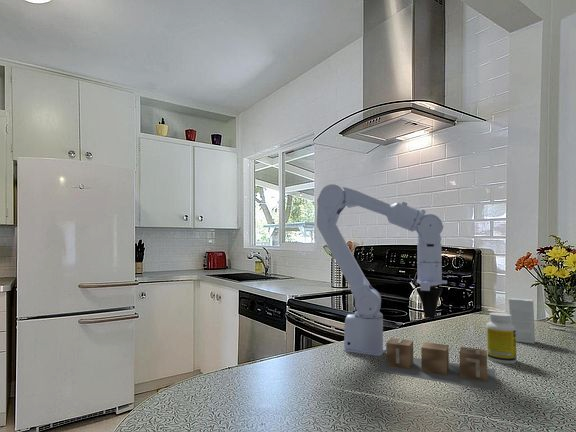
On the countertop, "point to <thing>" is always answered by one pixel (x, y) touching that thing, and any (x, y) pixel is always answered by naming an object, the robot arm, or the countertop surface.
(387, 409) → the countertop surface
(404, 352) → the digit block 1
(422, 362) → the plain block
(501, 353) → the pill bottle
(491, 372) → the mat
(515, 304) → the skincare box
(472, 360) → the digit block 7
